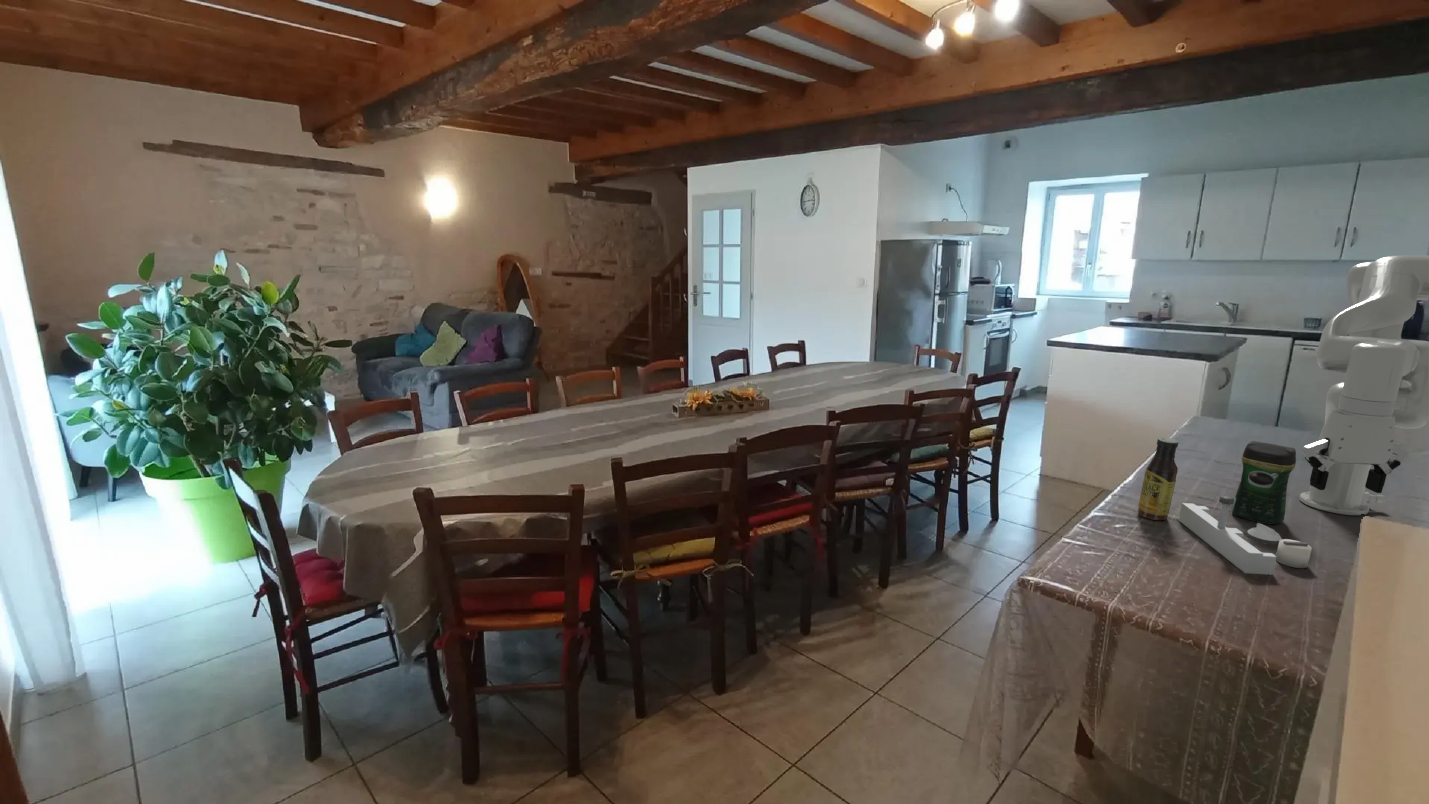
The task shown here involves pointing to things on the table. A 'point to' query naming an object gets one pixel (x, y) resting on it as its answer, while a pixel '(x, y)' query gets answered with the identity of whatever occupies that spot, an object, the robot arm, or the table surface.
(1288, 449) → the coffee jar
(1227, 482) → the table surface
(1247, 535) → the stove knob
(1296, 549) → the knob slider
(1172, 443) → the sauce bottle
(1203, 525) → the mount
